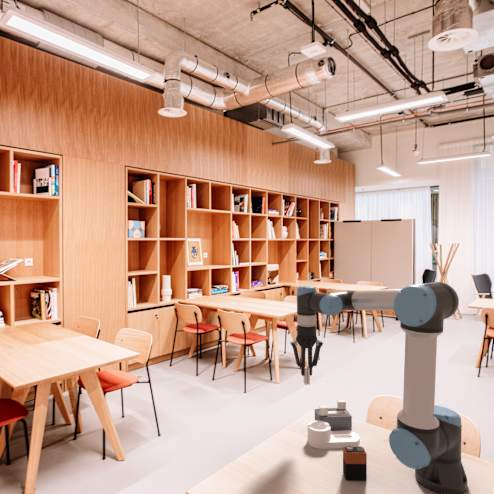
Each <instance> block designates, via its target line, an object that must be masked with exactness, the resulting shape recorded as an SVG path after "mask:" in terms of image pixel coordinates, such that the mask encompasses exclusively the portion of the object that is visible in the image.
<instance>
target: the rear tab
mask: <svg viewBox="0 0 494 494" xmlns="http://www.w3.org/2000/svg"><path fill="white" fill-rule="evenodd" d="M336 403H337V404H336V405H337V406H336V408H338V409H346V410H347V401H346V400H345V399H338V400H337V402H336Z"/></svg>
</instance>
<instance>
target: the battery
mask: <svg viewBox="0 0 494 494" xmlns="http://www.w3.org/2000/svg"><path fill="white" fill-rule="evenodd" d="M342 453H343V454H342V474H343V476H344V478H345V481H347V482H348V481H352V482H353V481H356V482H358V481H361V482H365V481H367V479H368V478H367V475H368V474H367V473H368V471H367V469H368V468H367V467H368V466H367V455H368V453H367V452H366V450H365V448H364V446H360V445H359V446H358V447H352V446H346V447H343V448H342Z"/></svg>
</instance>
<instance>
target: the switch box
mask: <svg viewBox="0 0 494 494" xmlns="http://www.w3.org/2000/svg"><path fill="white" fill-rule="evenodd" d="M352 417H353V416H352V415H351V414H350V412H349V411H348V410H347V408H346V409H338V408H337V407H328V415H325V416H321V415H320V414H319V408H314V421H324V422H327V423H328V424H329V427H331V431H343V430H351V431H353V430H352V429H353V428H352V427H353V426H352V424H353V423H352V422H353V421H352V420H353V419H352Z"/></svg>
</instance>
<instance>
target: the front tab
mask: <svg viewBox="0 0 494 494" xmlns="http://www.w3.org/2000/svg"><path fill="white" fill-rule="evenodd" d="M328 408H329V407H328V406H327V405H319V407H318V409H319V414H320V415H321V416H325V415H328Z"/></svg>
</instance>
